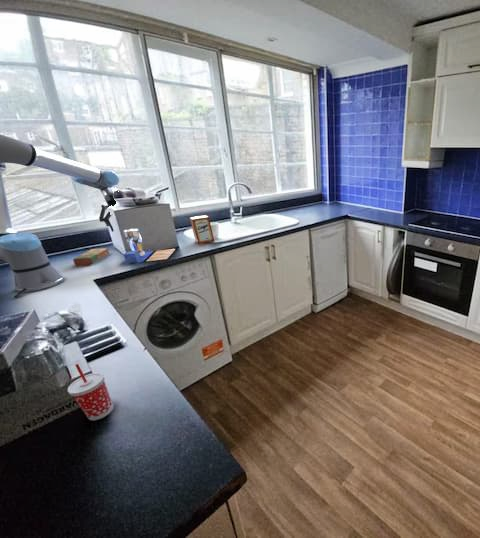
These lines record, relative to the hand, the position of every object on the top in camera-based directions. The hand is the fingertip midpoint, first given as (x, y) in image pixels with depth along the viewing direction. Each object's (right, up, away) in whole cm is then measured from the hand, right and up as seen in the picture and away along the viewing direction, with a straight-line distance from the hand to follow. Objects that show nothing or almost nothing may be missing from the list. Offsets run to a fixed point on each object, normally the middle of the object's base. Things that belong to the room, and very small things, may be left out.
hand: (127, 227), depth 165 cm
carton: (-17, -19, -3) cm, 25 cm away
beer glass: (+7, -16, 0) cm, 17 cm away
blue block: (+9, -19, -7) cm, 22 cm away
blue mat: (+7, -17, -1) cm, 19 cm away
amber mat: (+18, -16, +1) cm, 24 cm away
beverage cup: (+71, -57, -97) cm, 133 cm away
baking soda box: (+30, -5, +25) cm, 40 cm away
